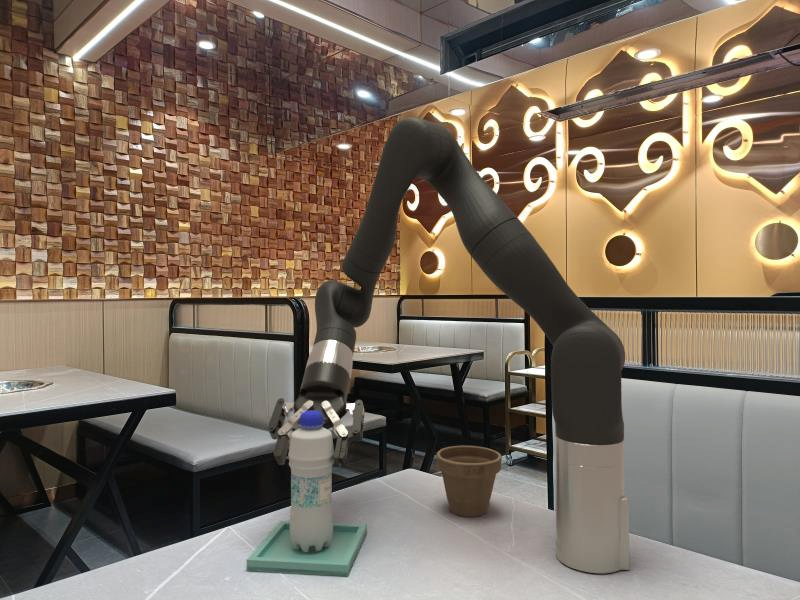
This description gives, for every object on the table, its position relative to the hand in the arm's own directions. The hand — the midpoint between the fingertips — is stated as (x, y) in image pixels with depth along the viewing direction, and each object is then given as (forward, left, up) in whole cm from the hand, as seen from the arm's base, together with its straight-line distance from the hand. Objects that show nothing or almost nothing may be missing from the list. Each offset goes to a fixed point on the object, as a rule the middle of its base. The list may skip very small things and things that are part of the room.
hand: (308, 463), depth 82 cm
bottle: (0, -2, -13) cm, 13 cm away
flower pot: (-23, -20, -13) cm, 34 cm away
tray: (0, -1, -13) cm, 13 cm away
